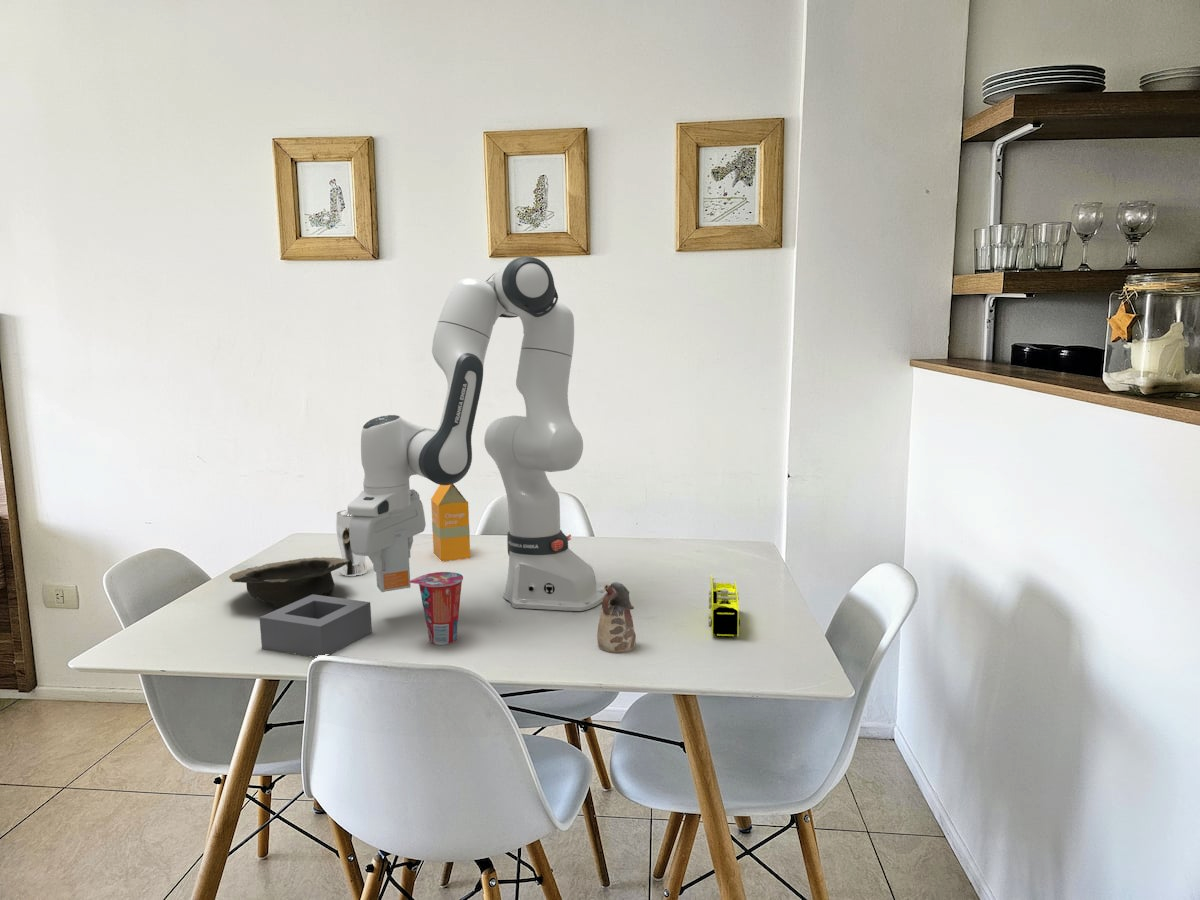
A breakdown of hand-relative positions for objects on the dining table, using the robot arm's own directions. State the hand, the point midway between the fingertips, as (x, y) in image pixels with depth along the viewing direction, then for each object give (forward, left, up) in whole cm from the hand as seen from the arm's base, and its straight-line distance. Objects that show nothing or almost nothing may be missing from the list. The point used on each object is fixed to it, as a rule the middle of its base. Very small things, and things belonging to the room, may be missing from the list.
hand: (392, 565), depth 167 cm
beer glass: (+28, -23, -11) cm, 38 cm away
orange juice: (+14, -44, -11) cm, 47 cm away
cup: (-16, +7, -11) cm, 21 cm away
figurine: (-48, -2, -11) cm, 49 cm away
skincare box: (0, 0, -5) cm, 5 cm away
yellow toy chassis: (-63, -19, -11) cm, 67 cm away
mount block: (+6, +15, -11) cm, 20 cm away
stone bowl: (+29, -3, -11) cm, 32 cm away
